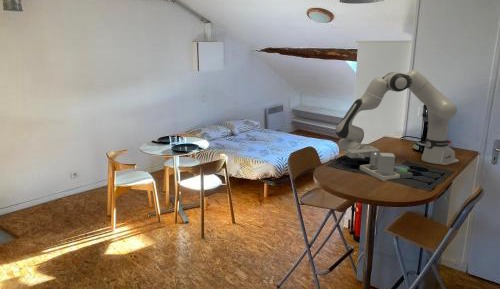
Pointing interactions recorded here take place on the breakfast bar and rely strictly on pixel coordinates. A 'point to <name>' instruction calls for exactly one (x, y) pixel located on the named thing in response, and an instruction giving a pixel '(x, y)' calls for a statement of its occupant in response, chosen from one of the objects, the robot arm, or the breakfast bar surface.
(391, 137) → the breakfast bar surface
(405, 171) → the button
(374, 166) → the cylinder
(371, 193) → the breakfast bar surface
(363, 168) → the white open frame
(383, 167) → the supplement box
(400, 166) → the tray
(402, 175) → the button housing
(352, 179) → the breakfast bar surface
